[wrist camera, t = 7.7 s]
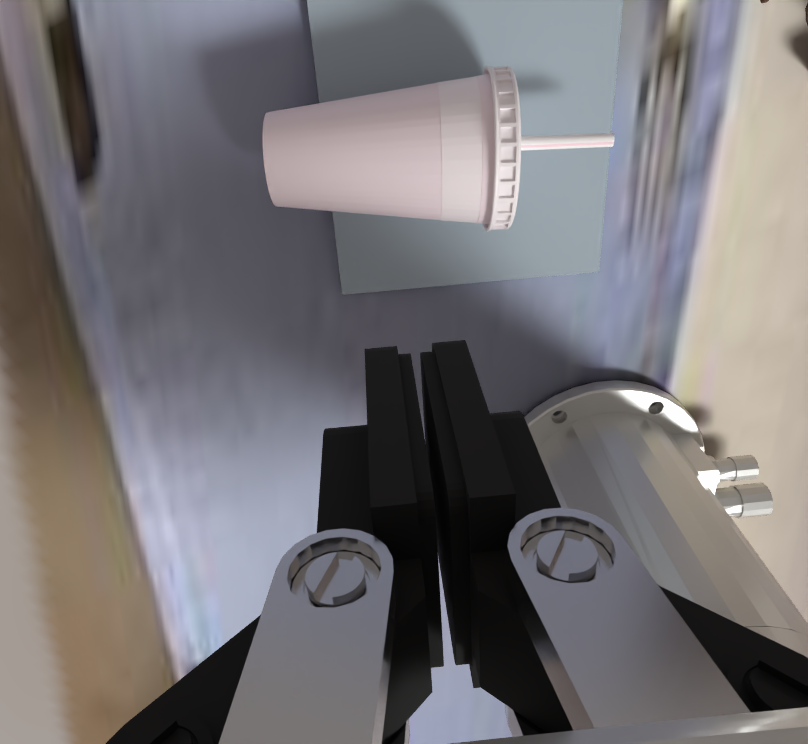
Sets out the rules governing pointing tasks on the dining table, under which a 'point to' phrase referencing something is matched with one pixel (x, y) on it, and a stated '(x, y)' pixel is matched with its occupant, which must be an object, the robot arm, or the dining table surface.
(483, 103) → the smoothie
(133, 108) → the dining table surface
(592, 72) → the mat
